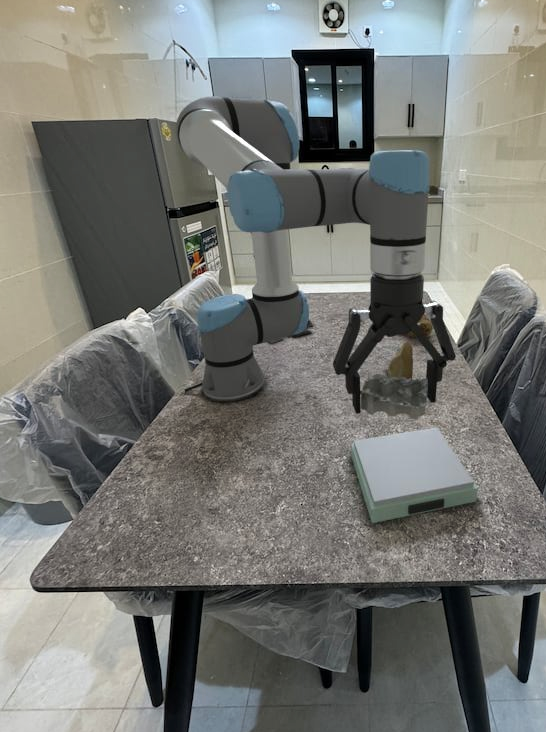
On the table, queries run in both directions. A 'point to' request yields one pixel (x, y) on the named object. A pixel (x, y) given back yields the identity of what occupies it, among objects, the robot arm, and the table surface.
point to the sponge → (424, 326)
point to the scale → (410, 474)
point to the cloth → (298, 333)
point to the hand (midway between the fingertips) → (394, 403)
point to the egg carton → (394, 395)
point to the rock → (402, 362)
